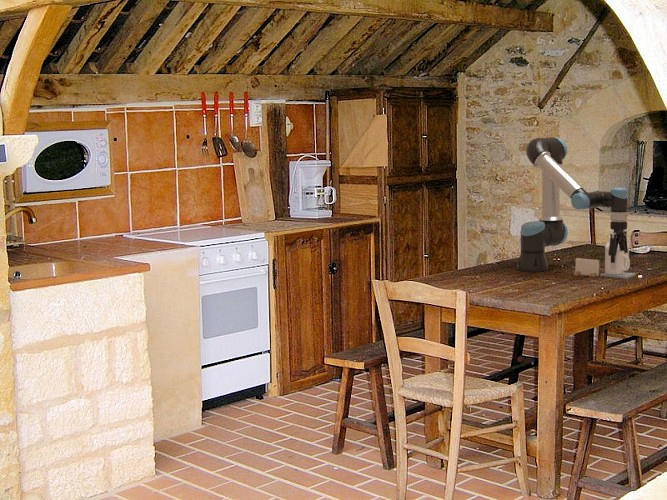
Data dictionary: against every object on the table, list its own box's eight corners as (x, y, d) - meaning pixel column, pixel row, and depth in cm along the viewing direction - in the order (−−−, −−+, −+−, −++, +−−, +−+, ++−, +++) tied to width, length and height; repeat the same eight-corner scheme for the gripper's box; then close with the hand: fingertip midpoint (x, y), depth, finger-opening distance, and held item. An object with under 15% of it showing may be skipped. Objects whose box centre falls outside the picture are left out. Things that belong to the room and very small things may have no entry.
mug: (625, 276, 437) (626, 253, 435) (601, 273, 445) (602, 251, 443) (633, 273, 443) (634, 251, 441) (609, 271, 451) (610, 249, 449)
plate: (599, 276, 444) (599, 274, 444) (609, 273, 452) (609, 271, 452) (626, 278, 436) (626, 276, 435) (635, 275, 444) (635, 273, 444)
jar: (602, 267, 471) (602, 237, 469) (608, 264, 479) (609, 235, 477) (625, 268, 465) (625, 238, 463) (631, 266, 472) (631, 236, 471)
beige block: (572, 275, 448) (572, 259, 447) (577, 273, 452) (577, 258, 451) (594, 277, 442) (594, 261, 441) (599, 275, 445) (599, 259, 444)
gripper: (617, 223, 429) (616, 271, 432) (635, 219, 447) (634, 265, 450) (601, 222, 434) (600, 270, 437) (620, 218, 451) (619, 264, 454)
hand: (617, 268), depth 443 cm, fingers open, 10 cm apart
